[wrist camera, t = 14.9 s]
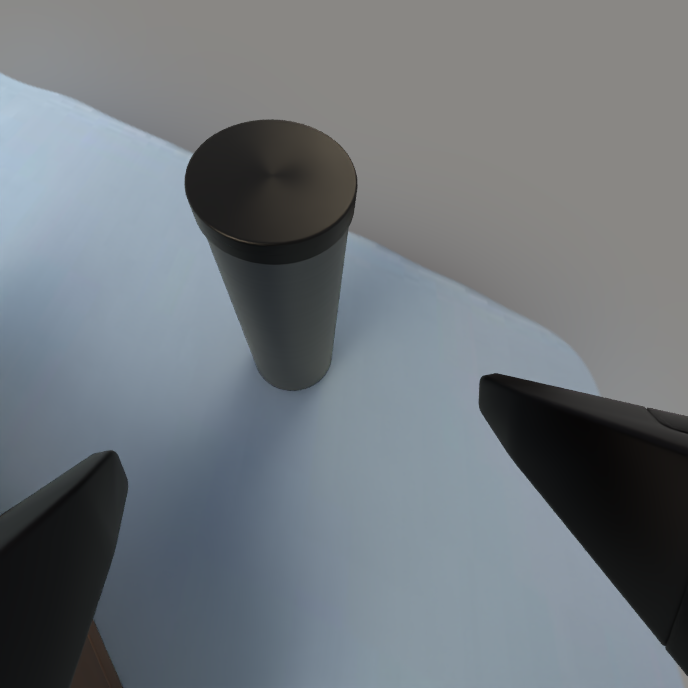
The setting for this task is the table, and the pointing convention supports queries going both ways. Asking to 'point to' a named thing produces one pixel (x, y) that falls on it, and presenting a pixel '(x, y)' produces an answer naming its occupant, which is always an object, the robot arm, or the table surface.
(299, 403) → the table surface
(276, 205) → the canister
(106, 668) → the drawer unit
